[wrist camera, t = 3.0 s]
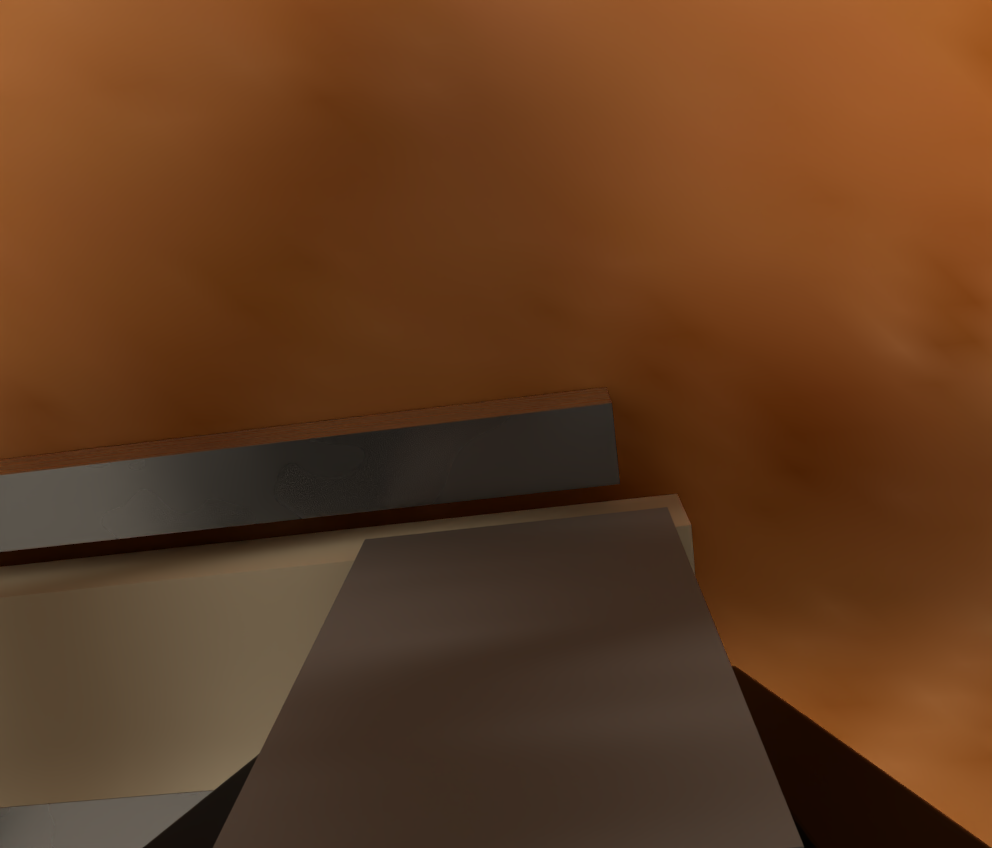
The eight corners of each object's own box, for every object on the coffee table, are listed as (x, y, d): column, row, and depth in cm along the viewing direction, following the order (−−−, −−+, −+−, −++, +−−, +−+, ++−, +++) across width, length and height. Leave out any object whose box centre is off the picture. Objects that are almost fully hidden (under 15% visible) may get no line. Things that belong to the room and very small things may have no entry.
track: (606, 387, 10) (612, 402, 10) (646, 776, 12) (653, 817, 11) (-336, 499, 11) (-400, 522, 11) (-186, 843, 13) (-232, 884, 12)
